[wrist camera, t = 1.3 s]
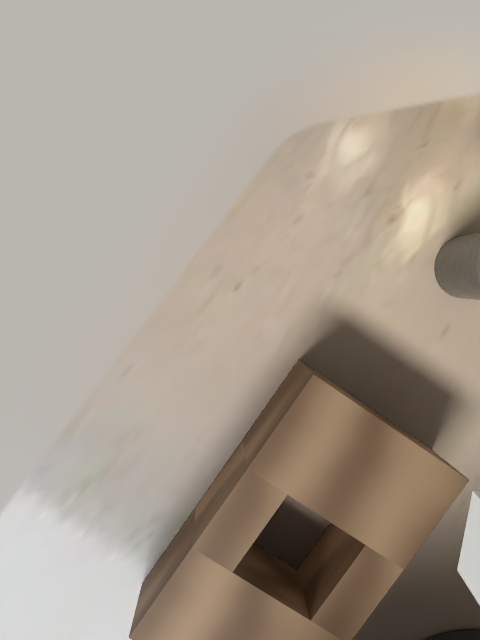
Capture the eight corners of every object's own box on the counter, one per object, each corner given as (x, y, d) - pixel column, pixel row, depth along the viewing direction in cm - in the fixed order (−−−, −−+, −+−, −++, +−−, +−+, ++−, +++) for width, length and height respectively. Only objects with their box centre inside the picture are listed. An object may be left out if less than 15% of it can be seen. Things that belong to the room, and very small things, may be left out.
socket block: (431, 449, 33) (469, 480, 28) (276, 663, 34) (286, 729, 29) (298, 359, 32) (313, 374, 27) (142, 583, 33) (128, 637, 28)
